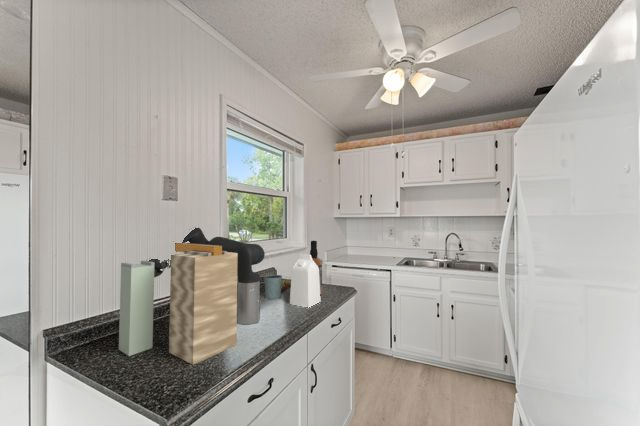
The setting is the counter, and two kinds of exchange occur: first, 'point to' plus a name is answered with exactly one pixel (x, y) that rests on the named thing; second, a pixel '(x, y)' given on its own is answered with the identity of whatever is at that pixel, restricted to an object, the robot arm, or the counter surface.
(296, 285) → the milk
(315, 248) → the whiskey bottle
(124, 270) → the grooved green pillar
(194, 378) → the counter surface
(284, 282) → the gavel
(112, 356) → the counter surface
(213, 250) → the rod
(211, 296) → the stand
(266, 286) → the teal cup
